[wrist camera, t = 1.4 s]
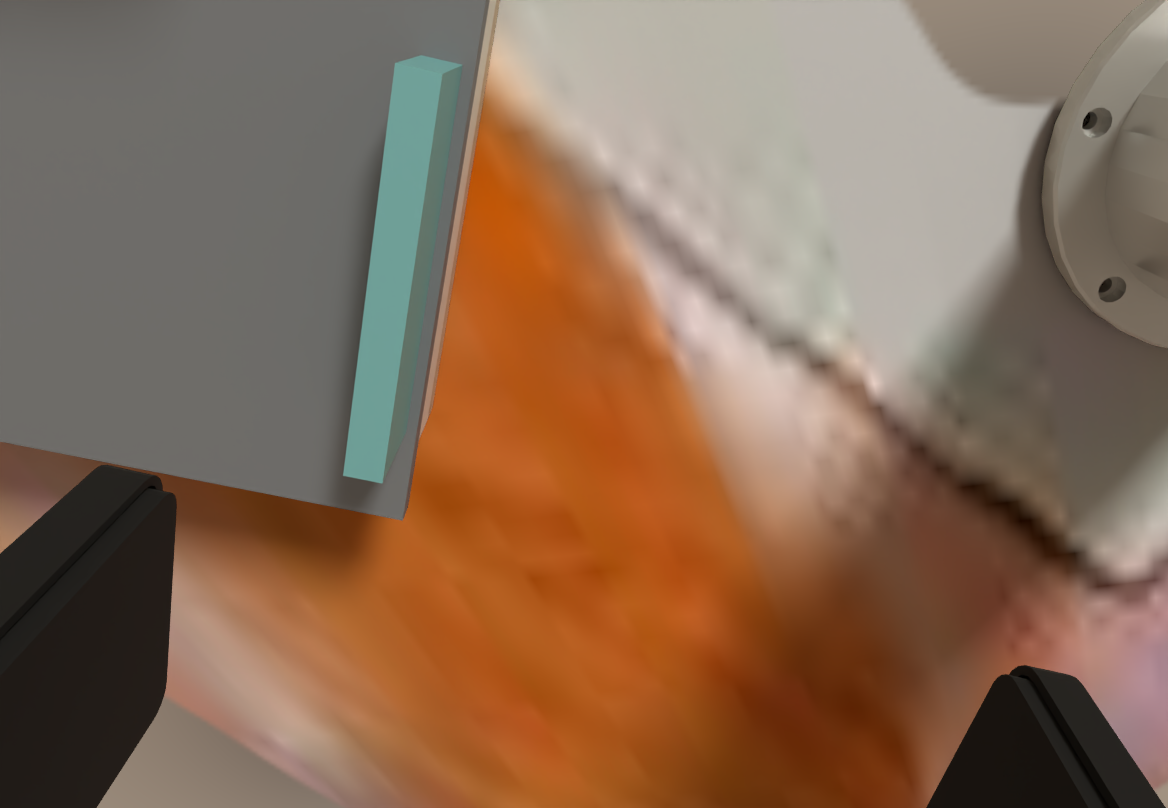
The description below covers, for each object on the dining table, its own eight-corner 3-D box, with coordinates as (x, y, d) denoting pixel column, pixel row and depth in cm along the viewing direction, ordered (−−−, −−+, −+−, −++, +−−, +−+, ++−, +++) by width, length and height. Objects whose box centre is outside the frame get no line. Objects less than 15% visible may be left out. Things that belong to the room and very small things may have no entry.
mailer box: (505, -38, 27) (481, -48, 22) (432, 408, 33) (398, 487, 28) (-185, -205, 26) (-397, -260, 20) (-133, 292, 32) (-286, 352, 26)
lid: (500, -63, 21) (479, -76, 18) (408, 506, 28) (380, 579, 24) (-434, -290, 20) (-653, -352, 16) (-307, 365, 26) (-446, 421, 23)
